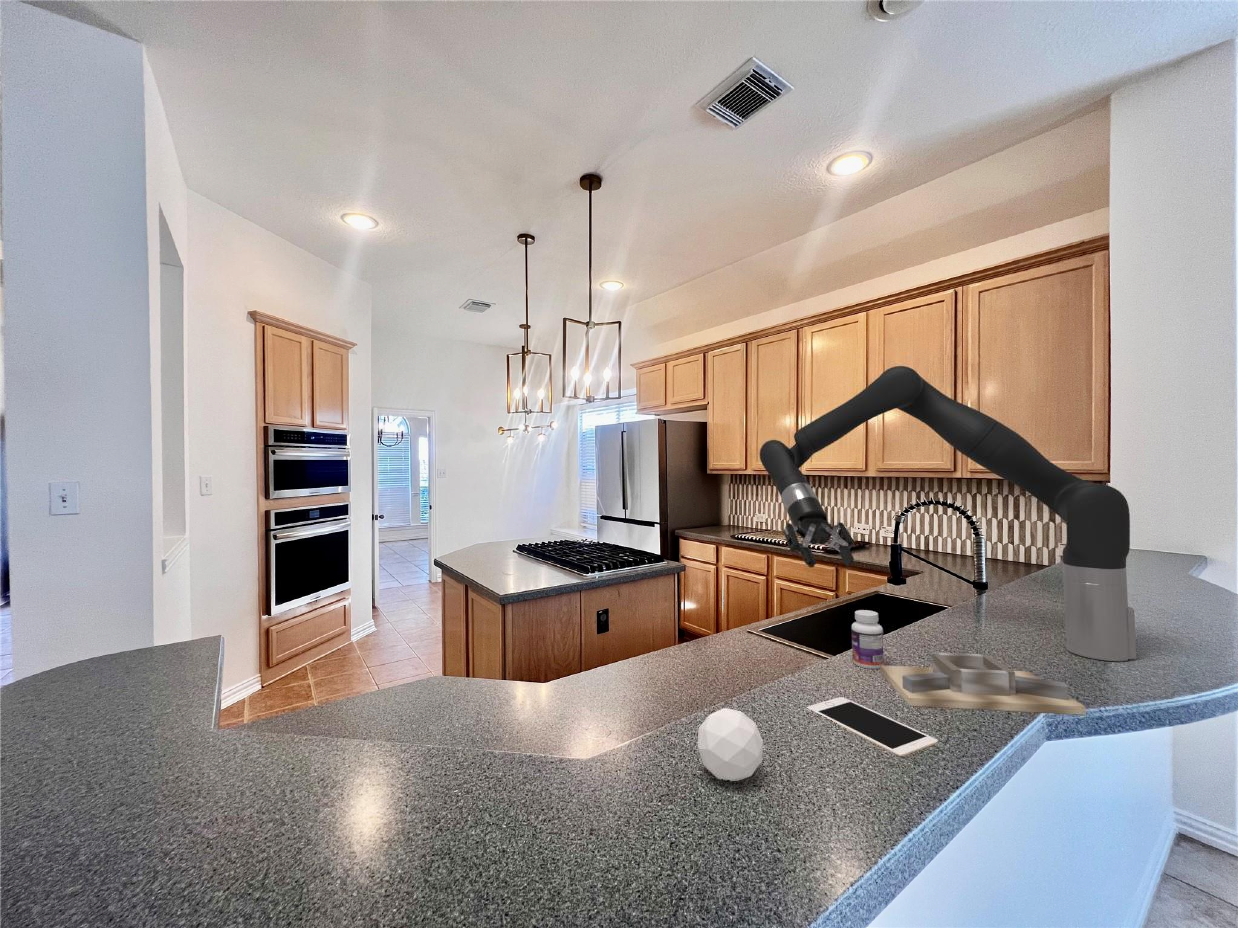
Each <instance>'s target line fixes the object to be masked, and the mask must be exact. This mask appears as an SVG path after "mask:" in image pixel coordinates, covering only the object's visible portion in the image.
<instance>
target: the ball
mask: <svg viewBox="0 0 1238 928" xmlns="http://www.w3.org/2000/svg"><path fill="white" fill-rule="evenodd" d="M697 732H698V734H697V735H698V736H697V748H698V751H699V752H698V753H699V755H700V758H701V760H702V765H703V766H704V767H705V768H706V769H707V770H708V771H709V772H710V773H711V774H712V775H714V777H715V778H716V779H718V780H722V779H723V780H722V781H727V780H730V781H729V782H732V781H737V782H739V780H740V781H742V780H744V779H746V778H749V777H752V776H753V774H754V773H755V771H756V770H757V768H758V767H759V765H761V763H762V761H763V750H764V741H763V738H762V735H761V734H760V731H759V728H758V726H757V723H756V722H755V721H753V719H752V718H750V717H749V716H748V715H746V714H745V713H744V712H742V711H740V710H735V709H731V708H726V707H723V708H721V709H719V710H717V711H715V712H713V713H711V714H709V715H708V716H707V717H706V718H705V719H704V721H703V722H702V723H701V725H700V726H699V727H698V731H697Z"/></svg>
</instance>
